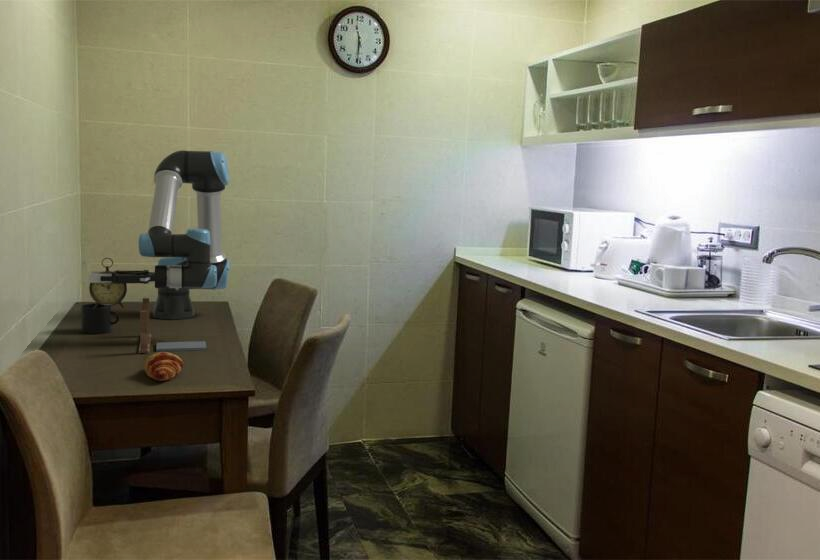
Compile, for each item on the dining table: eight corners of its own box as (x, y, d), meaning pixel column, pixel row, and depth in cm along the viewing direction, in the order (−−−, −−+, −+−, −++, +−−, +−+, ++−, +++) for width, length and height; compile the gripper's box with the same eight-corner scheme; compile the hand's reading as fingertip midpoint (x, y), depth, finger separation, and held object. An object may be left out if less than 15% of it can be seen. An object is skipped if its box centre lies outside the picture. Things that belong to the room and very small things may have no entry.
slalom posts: (141, 335, 253) (141, 297, 252) (151, 335, 254) (150, 297, 252) (138, 353, 229) (138, 311, 227) (149, 353, 230) (148, 311, 228)
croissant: (153, 377, 217) (139, 353, 215) (186, 360, 219) (172, 336, 217) (152, 396, 197) (136, 370, 195) (187, 377, 199) (172, 351, 197)
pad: (156, 345, 241) (156, 342, 241) (205, 343, 246) (205, 341, 246) (156, 351, 233) (156, 348, 233) (206, 349, 237) (206, 347, 237)
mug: (117, 334, 254) (116, 307, 253) (79, 334, 252) (78, 307, 251) (121, 328, 264) (121, 303, 262) (84, 328, 261) (84, 303, 260)
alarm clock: (89, 310, 235) (89, 258, 233) (89, 307, 240) (88, 256, 238) (127, 309, 240) (126, 258, 238) (126, 306, 245) (125, 256, 243)
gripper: (167, 292, 236) (87, 293, 229) (167, 284, 253) (93, 284, 246) (167, 268, 235) (86, 268, 228) (167, 261, 252) (92, 261, 245)
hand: (90, 276), depth 237 cm, fingers closed on alarm clock, 5 cm apart
